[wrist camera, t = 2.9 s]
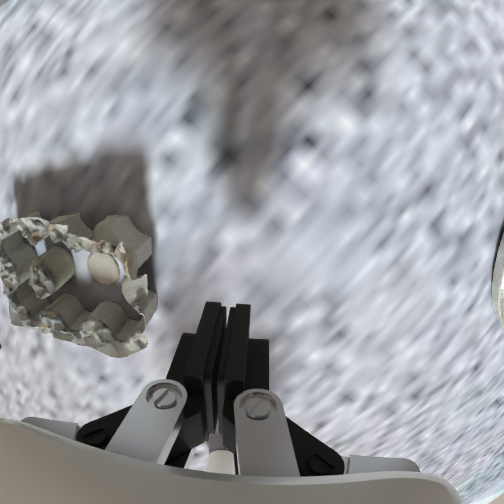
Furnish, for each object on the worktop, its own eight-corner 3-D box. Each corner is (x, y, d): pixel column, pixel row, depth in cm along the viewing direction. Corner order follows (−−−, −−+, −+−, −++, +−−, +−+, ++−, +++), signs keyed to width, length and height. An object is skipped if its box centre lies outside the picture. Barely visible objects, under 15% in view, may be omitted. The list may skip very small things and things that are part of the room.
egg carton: (160, 213, 15) (126, 241, 11) (163, 331, 18) (141, 376, 14) (19, 200, 16) (-24, 220, 12) (36, 299, 18) (4, 329, 15)
